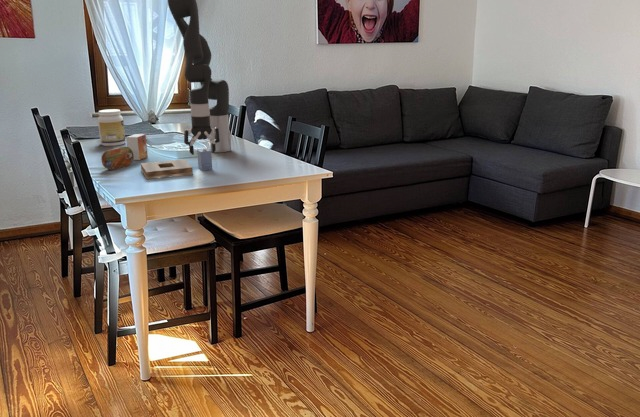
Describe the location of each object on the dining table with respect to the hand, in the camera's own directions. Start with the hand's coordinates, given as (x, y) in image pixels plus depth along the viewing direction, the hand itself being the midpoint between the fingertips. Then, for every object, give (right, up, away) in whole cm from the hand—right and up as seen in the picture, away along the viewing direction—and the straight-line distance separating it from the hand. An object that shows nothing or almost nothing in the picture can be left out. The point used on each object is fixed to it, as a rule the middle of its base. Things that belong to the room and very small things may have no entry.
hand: (202, 153), depth 245 cm
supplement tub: (-56, +10, +52) cm, 77 cm away
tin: (-37, -6, +5) cm, 38 cm away
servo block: (+1, -6, +2) cm, 7 cm away
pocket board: (-14, -8, -4) cm, 17 cm away
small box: (-33, 0, +21) cm, 40 cm away
